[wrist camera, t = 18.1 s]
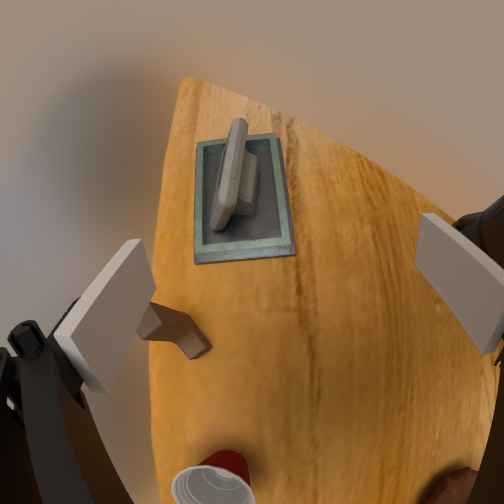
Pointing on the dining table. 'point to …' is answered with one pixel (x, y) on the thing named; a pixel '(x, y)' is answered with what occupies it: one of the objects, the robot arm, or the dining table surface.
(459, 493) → the butternut squash
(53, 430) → the robot arm
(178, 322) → the wooden block
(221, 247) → the keeper tray
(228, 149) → the digital clock
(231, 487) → the plastic cup
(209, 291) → the dining table surface
